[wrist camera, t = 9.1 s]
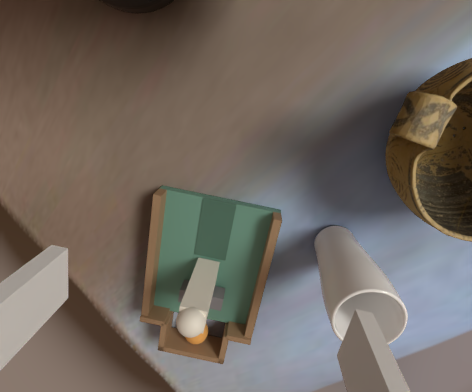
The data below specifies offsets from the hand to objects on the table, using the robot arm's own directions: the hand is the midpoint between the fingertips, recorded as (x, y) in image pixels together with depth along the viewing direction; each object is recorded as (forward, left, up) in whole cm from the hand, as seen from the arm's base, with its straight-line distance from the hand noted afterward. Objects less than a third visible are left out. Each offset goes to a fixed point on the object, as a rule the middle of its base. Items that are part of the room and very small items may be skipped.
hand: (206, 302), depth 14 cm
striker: (+17, -2, -25) cm, 30 cm away
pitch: (+17, -2, -27) cm, 32 cm away
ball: (+26, -2, -25) cm, 36 cm away
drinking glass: (+8, +14, -27) cm, 31 cm away
